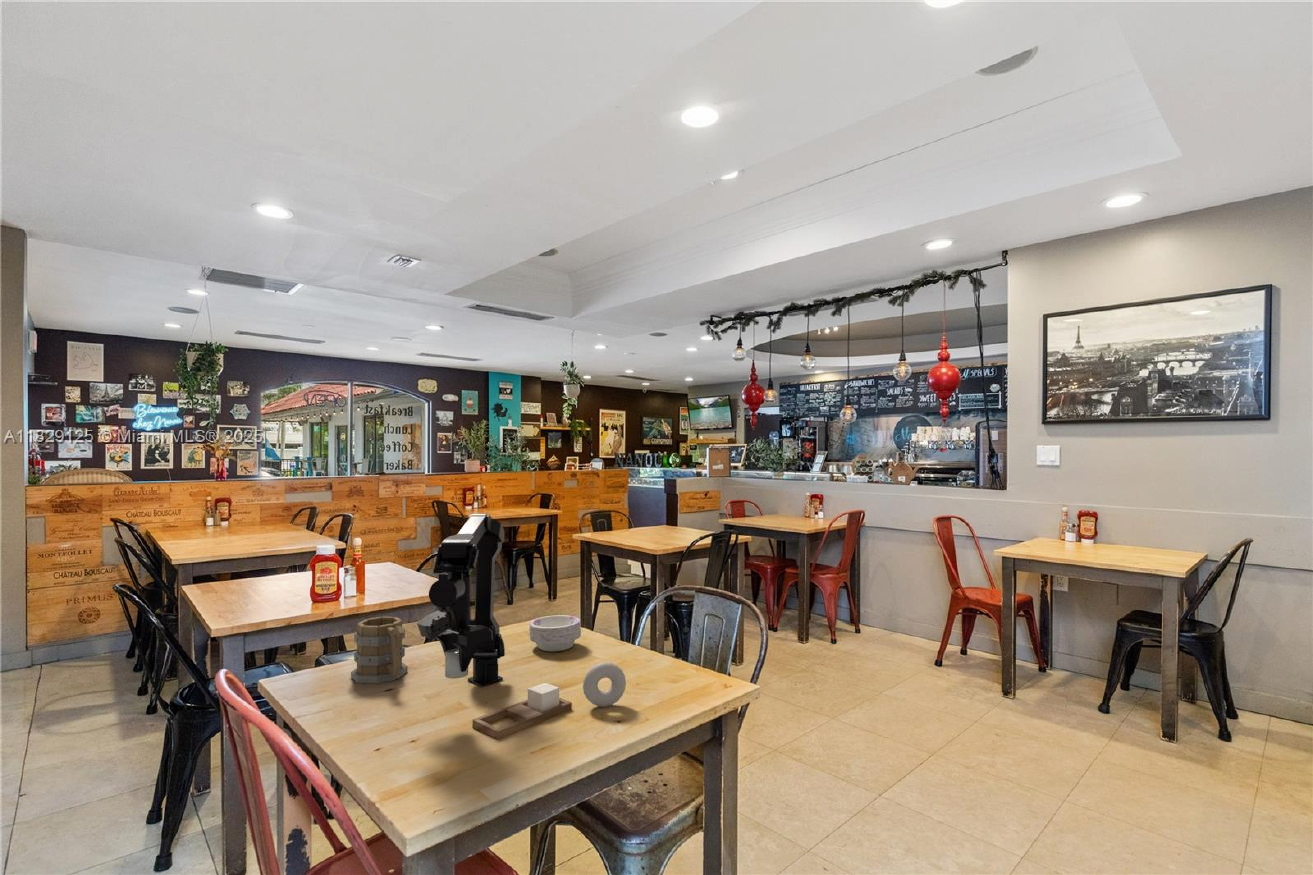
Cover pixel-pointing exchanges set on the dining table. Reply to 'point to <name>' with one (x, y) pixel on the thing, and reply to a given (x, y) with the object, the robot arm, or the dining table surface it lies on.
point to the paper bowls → (555, 632)
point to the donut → (612, 693)
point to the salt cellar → (453, 665)
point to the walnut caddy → (518, 717)
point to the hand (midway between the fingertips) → (457, 668)
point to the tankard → (379, 650)
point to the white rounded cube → (543, 697)
